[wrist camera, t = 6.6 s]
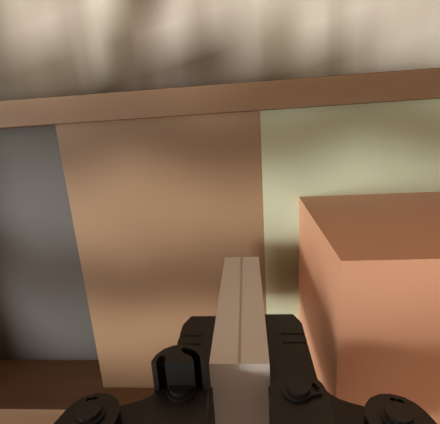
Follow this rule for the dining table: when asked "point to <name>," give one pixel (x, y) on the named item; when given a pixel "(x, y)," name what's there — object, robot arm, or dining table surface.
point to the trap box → (176, 213)
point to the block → (372, 294)
